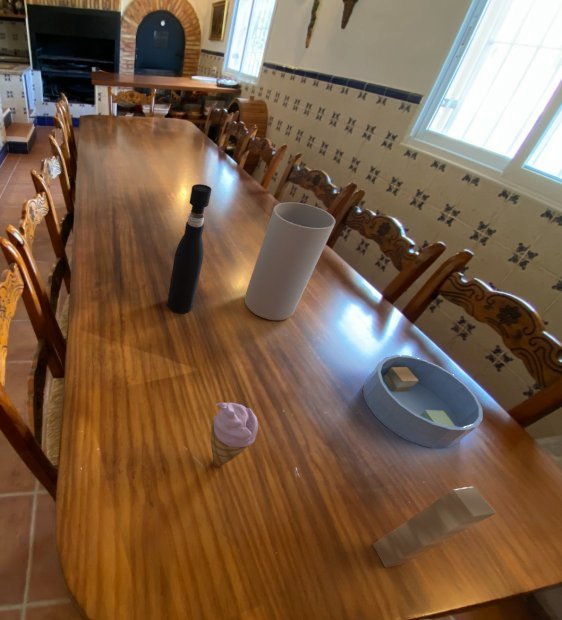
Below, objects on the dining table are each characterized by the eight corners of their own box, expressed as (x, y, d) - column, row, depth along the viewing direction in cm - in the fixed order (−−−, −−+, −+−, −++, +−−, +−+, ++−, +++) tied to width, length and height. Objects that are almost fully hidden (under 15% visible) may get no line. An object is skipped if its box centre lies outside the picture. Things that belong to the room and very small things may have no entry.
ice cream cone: (191, 447, 60) (209, 393, 51) (224, 438, 62) (247, 384, 52) (209, 486, 56) (232, 434, 46) (244, 475, 57) (273, 423, 48)
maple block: (408, 391, 72) (418, 380, 70) (393, 391, 72) (402, 380, 70) (397, 377, 75) (407, 366, 73) (382, 378, 74) (391, 367, 72)
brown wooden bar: (403, 564, 49) (496, 513, 38) (385, 567, 49) (474, 516, 37) (389, 541, 51) (473, 486, 40) (372, 544, 51) (452, 489, 39)
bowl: (482, 450, 64) (507, 432, 60) (390, 446, 63) (409, 427, 59) (425, 376, 76) (442, 357, 72) (348, 372, 76) (361, 352, 72)
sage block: (444, 438, 64) (457, 427, 62) (425, 438, 64) (437, 427, 62) (432, 421, 67) (443, 410, 65) (414, 420, 67) (425, 410, 65)
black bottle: (188, 316, 86) (214, 196, 67) (163, 309, 88) (181, 190, 68) (195, 301, 91) (221, 185, 71) (171, 294, 92) (190, 179, 73)
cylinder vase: (266, 286, 98) (299, 198, 82) (303, 312, 90) (347, 221, 74) (233, 299, 93) (261, 208, 76) (270, 328, 85) (309, 234, 69)
